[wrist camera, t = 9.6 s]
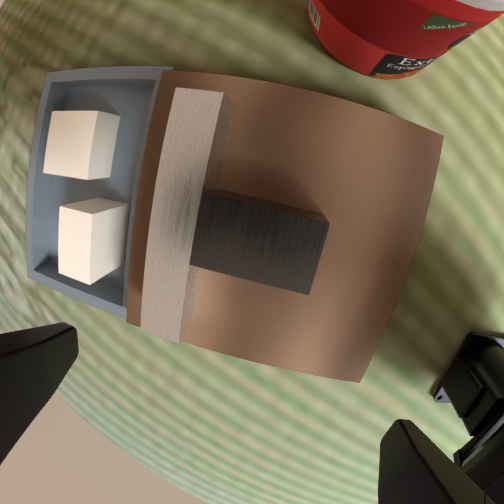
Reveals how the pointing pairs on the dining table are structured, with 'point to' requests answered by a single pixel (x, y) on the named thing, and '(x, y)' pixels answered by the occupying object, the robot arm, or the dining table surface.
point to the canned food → (396, 31)
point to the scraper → (215, 222)
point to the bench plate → (313, 199)
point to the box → (75, 190)
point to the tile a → (81, 144)
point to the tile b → (91, 238)
